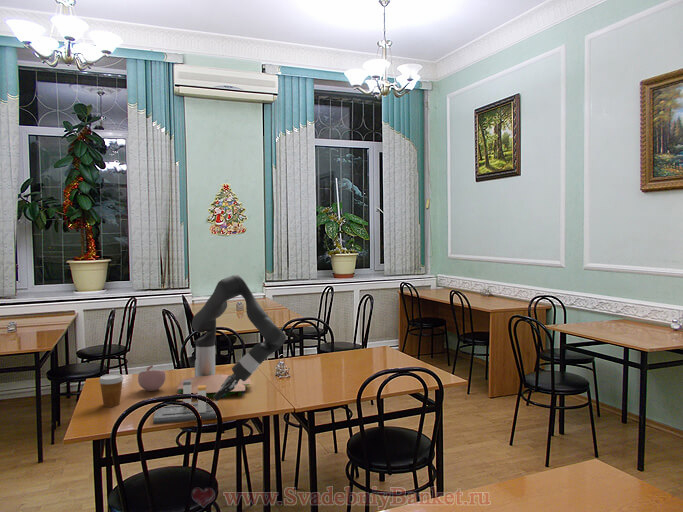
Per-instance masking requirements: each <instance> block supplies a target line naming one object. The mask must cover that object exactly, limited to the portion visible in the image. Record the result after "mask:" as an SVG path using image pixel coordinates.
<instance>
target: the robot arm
mask: <svg viewBox="0 0 683 512" xmlns="http://www.w3.org/2000/svg"><path fill="white" fill-rule="evenodd" d="M239 296H241V297H242V298H243V299H244V301H245V305H246V306H245V307H246V308H245V309H246V315H247V318H248V320H249V321H250V322H251V324H252V325H253V326H254V327H255V328H256V329H257V330H258V331H259V332H258V333H260V335H261V336H262V337H263V338H264V341H262V342H261V343H260V342H259V343H256V344H255V345H254V346H252V347H251V348H250V350H249V351H248V352H246V354H244V355H243V356H242V357H241V358H240V359H239V360H238V361H237V362H236V363H235V364H234V365H233V366H232V367H231V371H232V372H233V373H232V374H229V375H230V376H228V377H227V379H226V380H225V381H224V383H223V384H222V385H221V388H220V390H219V391H218V392H216V393H214V394H213V399H214V401H217V402H218V401H219V400H220V399H221V398H223V395H224V396H225V394H226V395H227V393H228V394H230V393H231V392H230V391H232V390H233V389H234V388H235V387H234V386H236V385H237V384H238V381H239V380H240V379H241V380H242V381H246V380H247V379H248V378H250V377H251V376H252V375H253V374H254V373H255V371H257V369H258V368H259V367H260V365H261V364H262V363H264V361H265V360H266V359H267V358H268V357H269V356H271V355H272V354H274V353H275V352H277V350H279V349H281V348H282V346H284V344H285V342H286V334H285V332H284V331H282V330H281V329H280V328H279V327H278V326H277V325H276V324H275V323H274V321H272V318H271V317H270V316H269V315H268V314H267V312H266V311H265V310H264V309H263V308H262V307H261V305H260V304H259V302H258V300H257V298H256V297H255V296H254V294H253V293H252V291H251V289H250V288H249V287H248V284H247V283H246V282H245V280H244V279H243V278H242V276H240V275H239V274H233V275H230V276H227V277H225V278H222V279H220V280H219V281H218V282H217V284H216V286H215V289H214V290H213V292H212V294H211V295H210V296H209V298H208V299H207V300H206V302H205V303H204V305H203V306H202V308H201V309H200V310H199V311H198V312H196V314H194V315H193V318H192V319H191V320H192V321H191V327H192V329H193V331H194V332H196V333H205V334H204V335H203V336H201V337H199V338H198V339H196V342H195V358H196V359H195V360H194V377H201V376H209V375H213V374H216V334H217V333H216V332H217V319H218V318H219V317H221V316H222V315H223V314H224V312H225V311H226V309H227V308H228V301H229V300H231V299H234V298H237V297H239Z"/></svg>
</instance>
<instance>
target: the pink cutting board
mask: <svg viewBox="0 0 683 512" xmlns="http://www.w3.org/2000/svg"><path fill="white" fill-rule="evenodd" d="M230 375H231V374H222V373H217V374H216V373H215V374H213V375H209V376H201V377H195V376H192V377H187V378H182V379H180V380H179V383H178V385H177V387H176V390H178V394H179V393H180V394H181V392H182V390H183V381H184V380H191V393H193V394H194V395H195V394H197V395H198V386H200V385H206V394H207V397H212V393H213V394H216V393H217V392H218V391H219V390H220V388H221V385H222V384H223V383H224V381H225V380H226V379H227V377H228V376H230ZM250 385H252V378H250V377H249V378H248V379H247V380H246V381H242V380H241V379H240V380H239V381H238V384H237V385H236V386H234V387H235V388H234V389H233V390H232V391H230V392H229V393H234V392H239V397H242V396H241V395H243V392H245V391H246V387H248V386H250ZM241 392H242V393H241ZM229 393H227V394H224V395H223V396H222V398H225V396H226V397H227V398H228V397H229V396H228V395H229ZM193 394H192V395H193Z"/></svg>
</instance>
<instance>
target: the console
mask: <svg viewBox="0 0 683 512" xmlns="http://www.w3.org/2000/svg"><path fill="white" fill-rule="evenodd" d="M214 402H215V403H216V404H217V406H218V401H216V400H214ZM169 405H170V406H165V407H162V408H160V409H158V410H157V411H156V410H155V412H154V415H153V419H152V423H153V424H164V423H176V422H178V423H179V422H189V421H197V420H196V417H195V415H194V413H193V412H192V411H191V410H189V409H187V408H186V407H183V406H181V405H173V404H169ZM191 405H193V406H194V407H195V408H196V409H197V411H198V402H191ZM199 414H200V416H201V419H202V420H213V419H217V418H216V413H215V411H214V410H213V409H212V408H211V406H209V405H208V404H207V403H206V412H204V413H199Z"/></svg>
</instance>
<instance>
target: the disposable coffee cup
mask: <svg viewBox="0 0 683 512" xmlns="http://www.w3.org/2000/svg"><path fill="white" fill-rule="evenodd" d="M123 381H124V377H123V374H122V373H121V374H120V373H110V374H103V375H102V376H100V377H99V379H98V383H99V384H100V390H101V397H102V403H103V406H104V407H109V408H110V407H116V406H119V405H120V403H121V395H122V389H123V387H122V386H123Z"/></svg>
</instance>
